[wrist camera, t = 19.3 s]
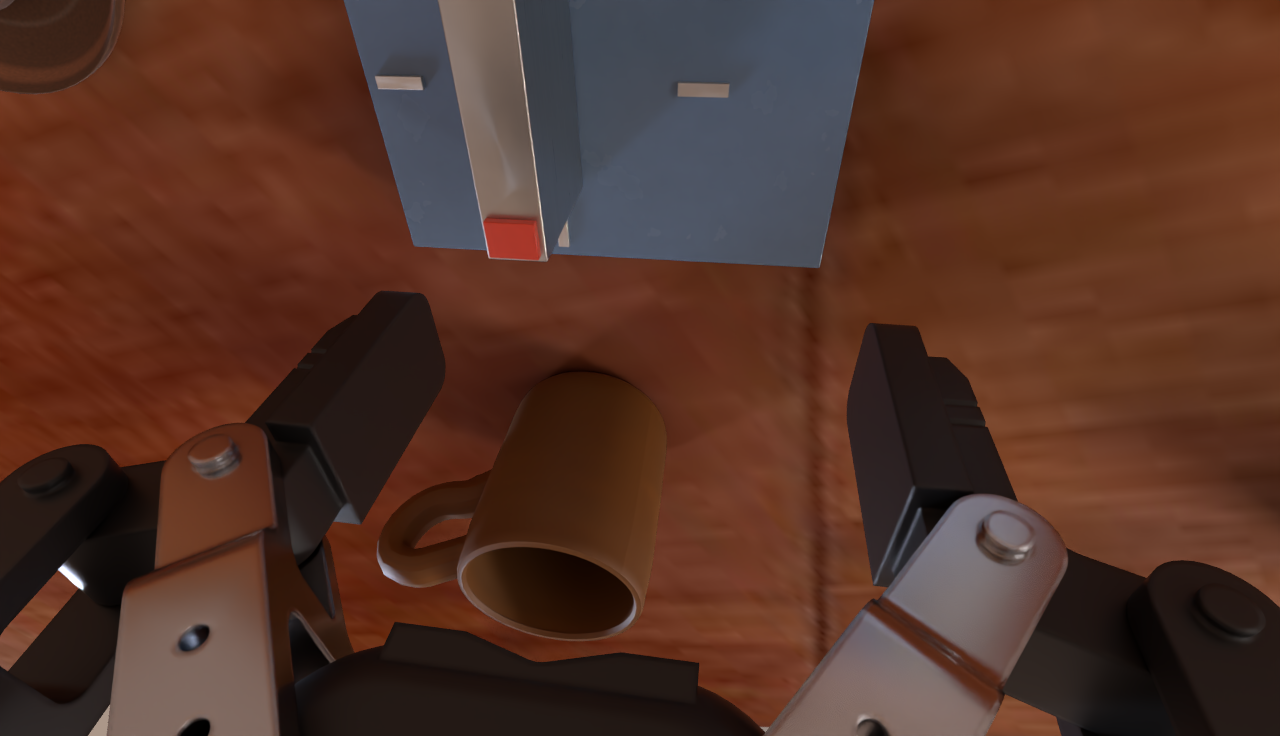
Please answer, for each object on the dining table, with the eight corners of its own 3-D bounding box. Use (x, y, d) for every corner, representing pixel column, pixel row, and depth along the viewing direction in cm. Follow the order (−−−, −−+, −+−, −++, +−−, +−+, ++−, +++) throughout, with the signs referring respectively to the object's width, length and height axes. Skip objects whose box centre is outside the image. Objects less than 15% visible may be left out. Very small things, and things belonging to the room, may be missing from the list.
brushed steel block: (504, -41, 15) (429, -6, 12) (566, -41, 15) (510, -5, 12) (533, 185, 19) (485, 264, 16) (583, 187, 19) (545, 267, 16)
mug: (465, 470, 34) (393, 632, 27) (416, 367, 30) (312, 531, 23) (676, 473, 32) (657, 650, 25) (660, 362, 27) (631, 543, 20)
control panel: (887, -179, 15) (913, -182, 13) (812, 225, 22) (820, 271, 20) (355, -167, 17) (290, -169, 14) (444, 208, 24) (411, 249, 21)
